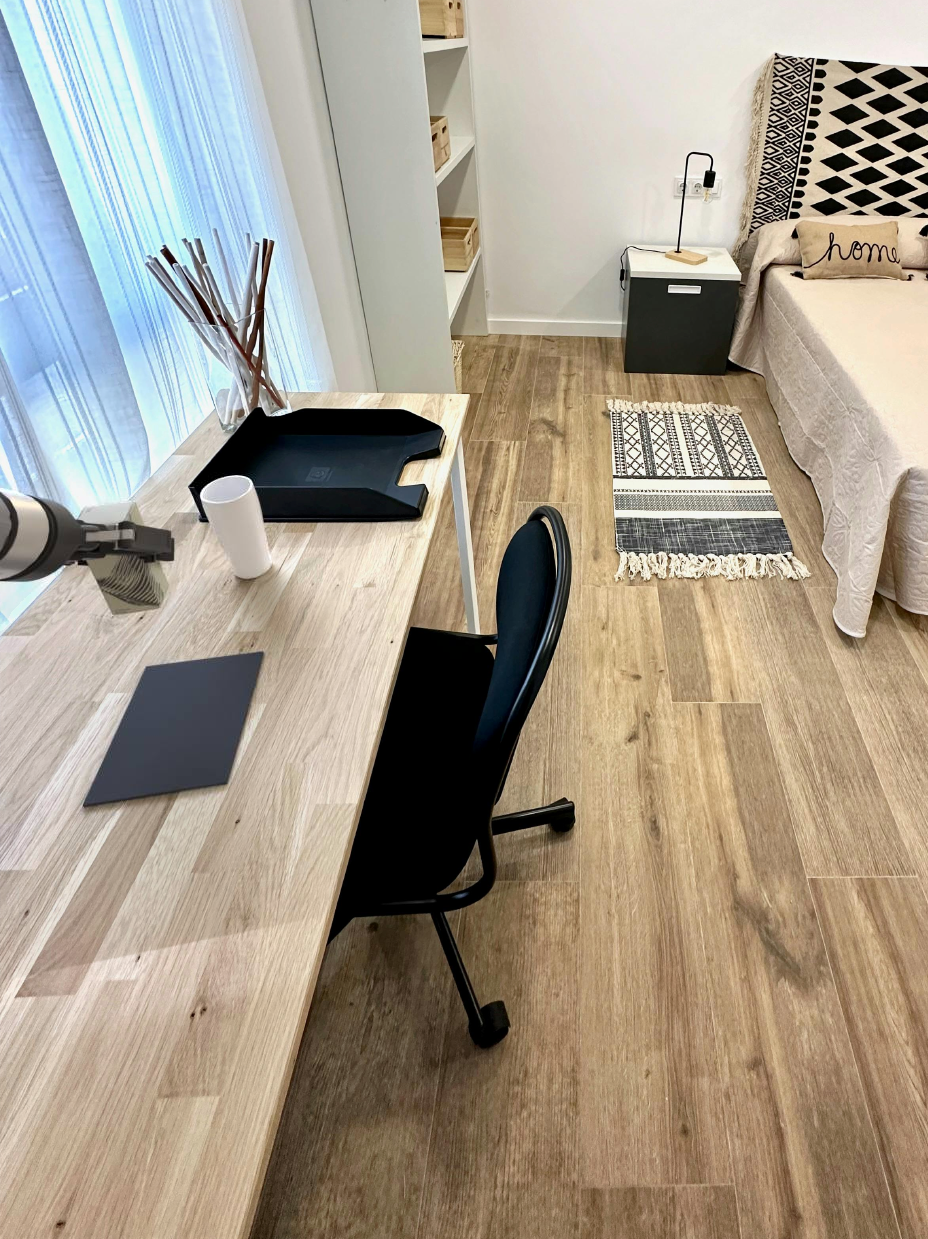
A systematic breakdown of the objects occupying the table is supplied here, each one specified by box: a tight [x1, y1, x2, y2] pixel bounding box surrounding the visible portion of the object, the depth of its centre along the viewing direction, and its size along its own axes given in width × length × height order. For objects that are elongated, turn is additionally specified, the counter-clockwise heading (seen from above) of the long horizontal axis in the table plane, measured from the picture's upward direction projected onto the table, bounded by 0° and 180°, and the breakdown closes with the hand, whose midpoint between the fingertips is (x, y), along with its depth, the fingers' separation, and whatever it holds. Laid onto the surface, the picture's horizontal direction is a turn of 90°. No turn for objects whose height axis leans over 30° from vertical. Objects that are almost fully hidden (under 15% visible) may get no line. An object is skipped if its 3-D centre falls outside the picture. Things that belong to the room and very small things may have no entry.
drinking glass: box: [199, 475, 273, 580], centre depth 95 cm, size 7×7×15 cm
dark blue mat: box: [82, 650, 265, 808], centre depth 78 cm, size 14×18×1 cm
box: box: [76, 500, 170, 616], centre depth 74 cm, size 5×4×13 cm
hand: (142, 552), depth 78 cm, fingers closed on box, 5 cm apart
